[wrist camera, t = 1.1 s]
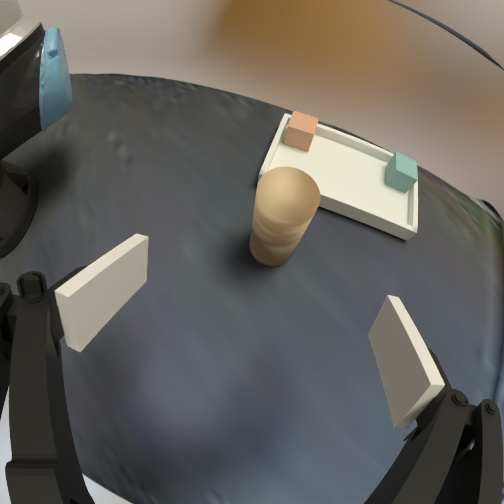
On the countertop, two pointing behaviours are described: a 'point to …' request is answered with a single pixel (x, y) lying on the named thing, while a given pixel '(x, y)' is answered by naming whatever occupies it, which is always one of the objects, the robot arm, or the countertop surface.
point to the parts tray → (349, 178)
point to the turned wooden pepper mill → (281, 214)
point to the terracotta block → (300, 131)
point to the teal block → (401, 172)
